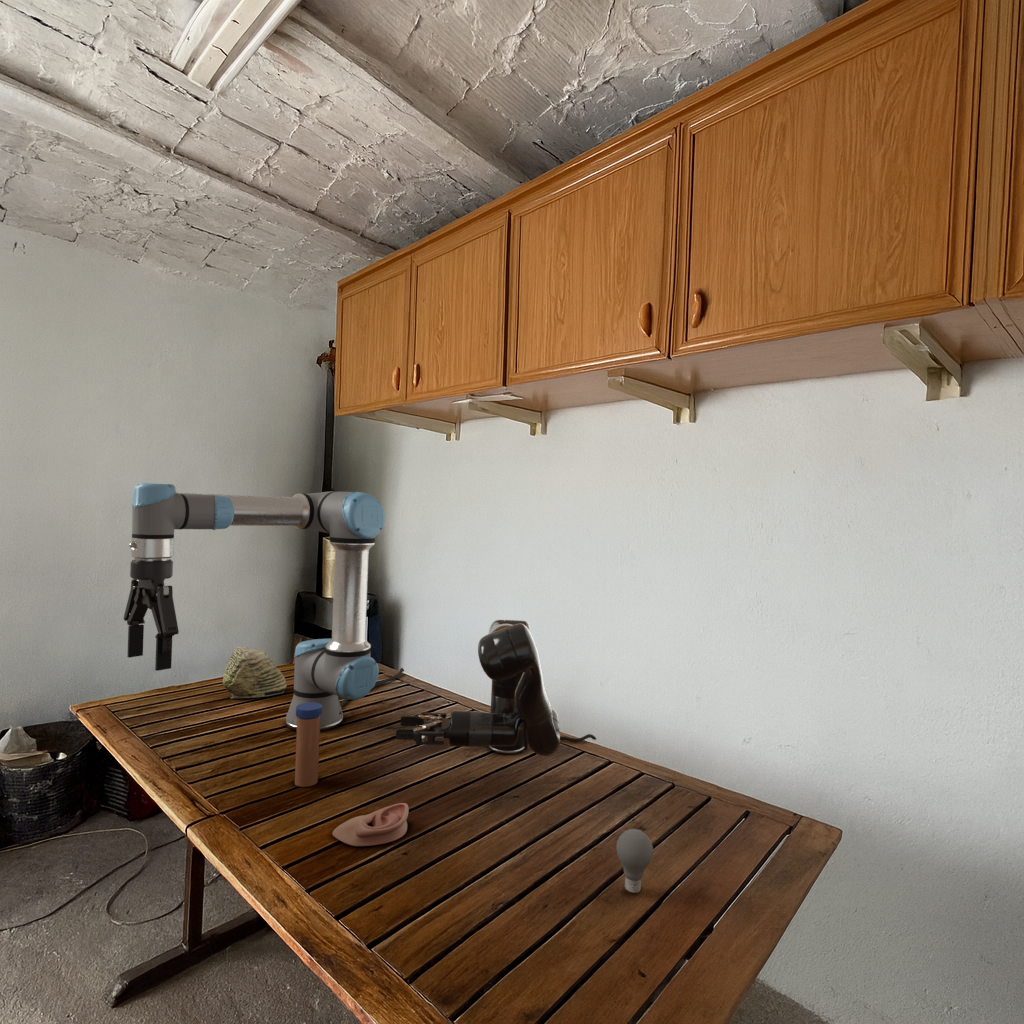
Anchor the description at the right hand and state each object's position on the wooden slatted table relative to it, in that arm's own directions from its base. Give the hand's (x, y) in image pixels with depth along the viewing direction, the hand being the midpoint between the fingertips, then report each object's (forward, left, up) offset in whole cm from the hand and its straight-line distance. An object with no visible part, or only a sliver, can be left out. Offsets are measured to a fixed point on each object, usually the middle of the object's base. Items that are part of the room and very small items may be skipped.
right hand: (398, 727), depth 141 cm
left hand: (+49, -14, +15) cm, 53 cm away
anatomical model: (+11, +18, -13) cm, 24 cm away
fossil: (+21, -76, -13) cm, 80 cm away
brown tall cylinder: (+18, -9, -13) cm, 24 cm away
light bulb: (-23, +53, -13) cm, 60 cm away
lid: (+18, -9, +4) cm, 20 cm away
